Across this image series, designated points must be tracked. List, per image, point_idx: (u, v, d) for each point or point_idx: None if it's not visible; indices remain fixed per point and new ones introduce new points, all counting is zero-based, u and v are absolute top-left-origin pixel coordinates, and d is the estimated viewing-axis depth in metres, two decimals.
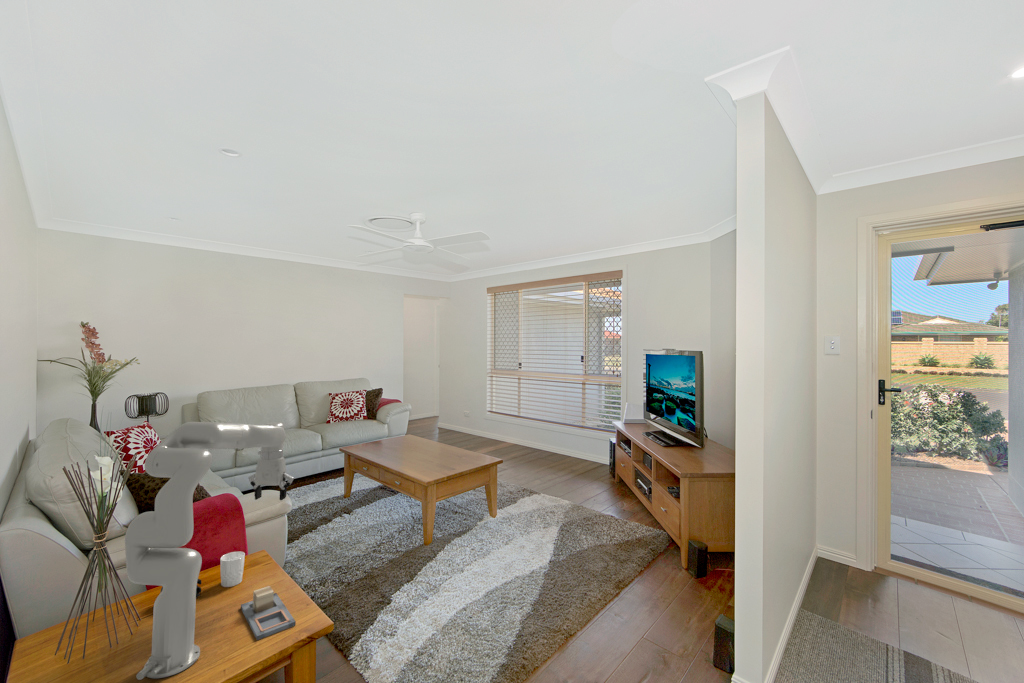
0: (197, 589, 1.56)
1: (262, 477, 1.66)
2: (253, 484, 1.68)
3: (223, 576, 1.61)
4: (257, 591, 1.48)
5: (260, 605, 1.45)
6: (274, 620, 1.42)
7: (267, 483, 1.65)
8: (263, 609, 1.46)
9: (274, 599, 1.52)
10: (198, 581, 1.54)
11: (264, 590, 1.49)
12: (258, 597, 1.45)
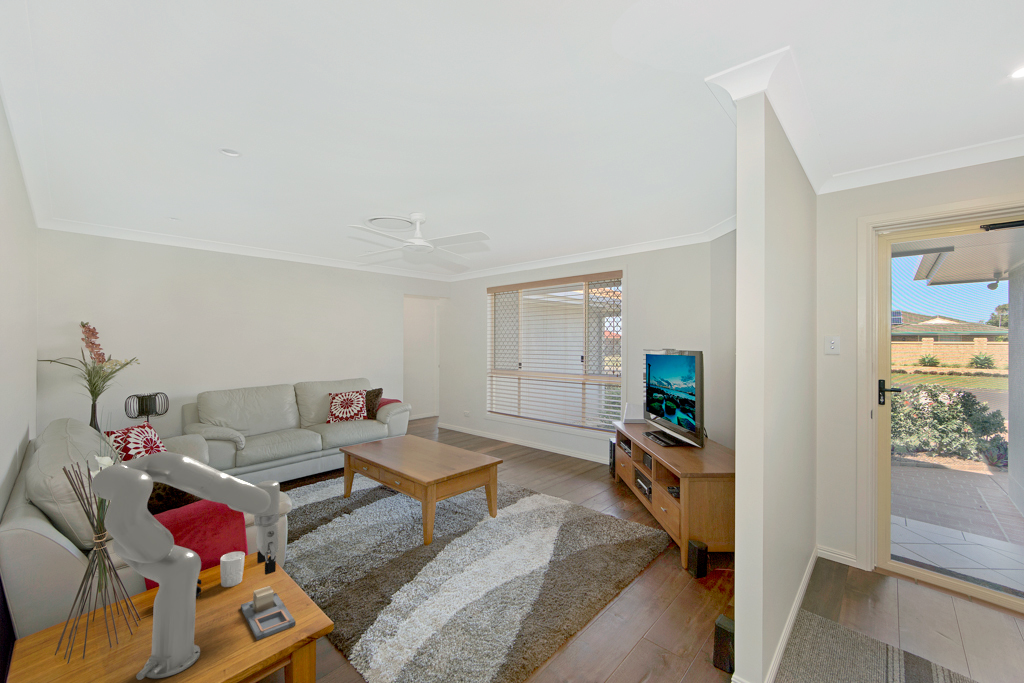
0: (197, 589, 1.56)
1: None
2: None
3: (223, 576, 1.61)
4: (257, 591, 1.48)
5: (260, 605, 1.45)
6: (274, 620, 1.42)
7: None
8: (263, 609, 1.46)
9: (274, 599, 1.52)
10: (198, 581, 1.54)
11: (264, 590, 1.49)
12: (258, 597, 1.45)
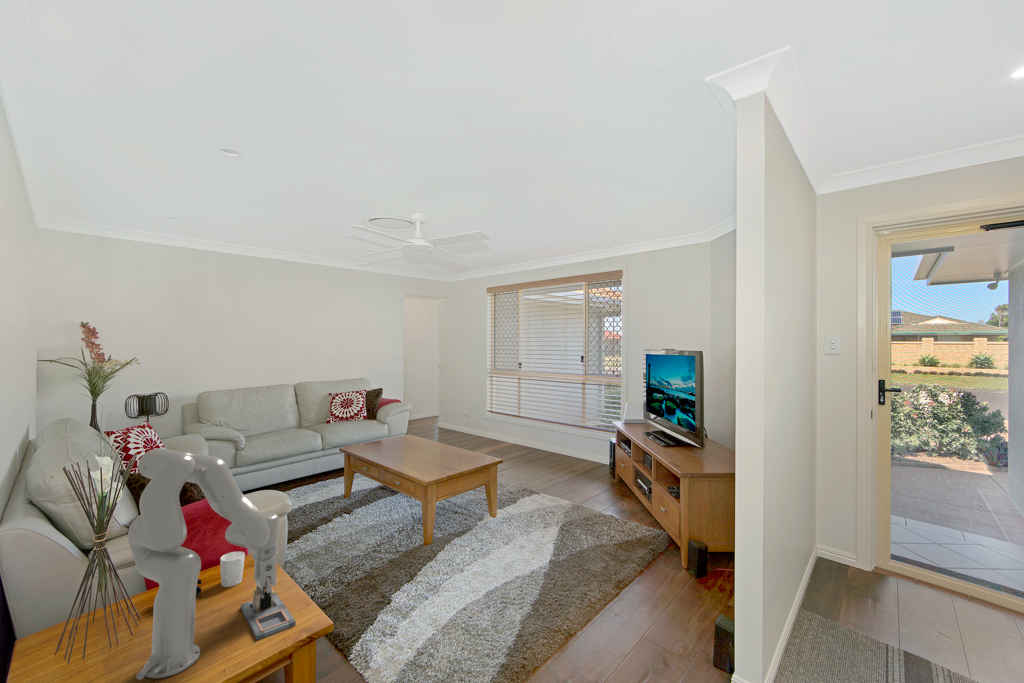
0: (197, 589, 1.56)
1: None
2: None
3: (223, 576, 1.61)
4: (257, 591, 1.48)
5: None
6: (274, 620, 1.42)
7: None
8: None
9: (274, 599, 1.52)
10: (198, 581, 1.54)
11: (264, 590, 1.49)
12: (258, 597, 1.45)
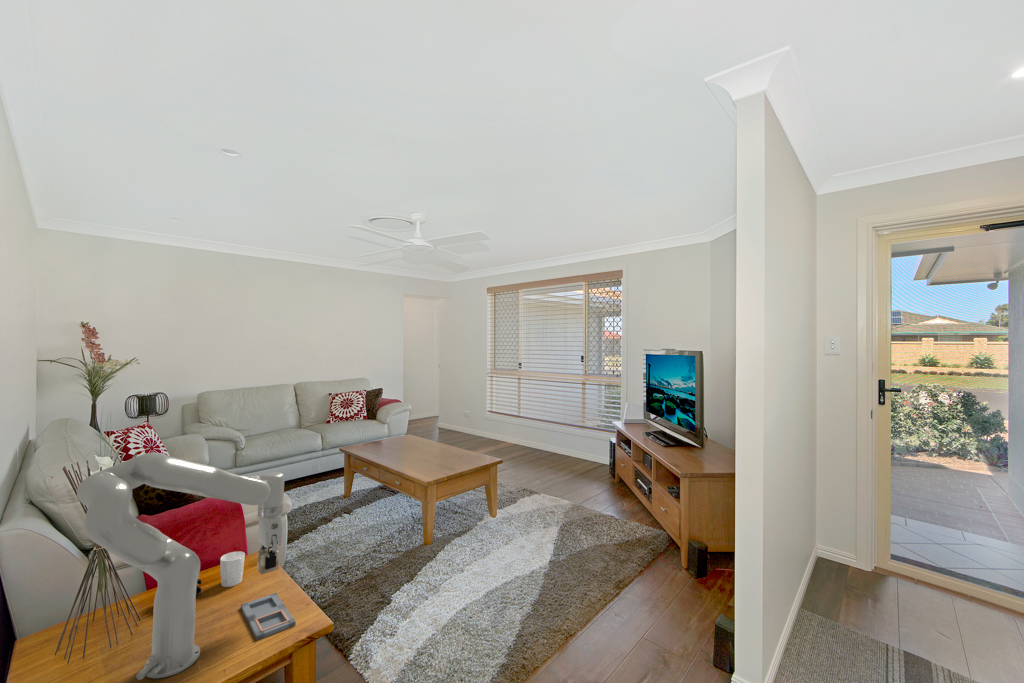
0: (197, 589, 1.56)
1: None
2: None
3: (223, 576, 1.61)
4: (262, 551, 1.45)
5: None
6: (274, 620, 1.42)
7: None
8: (268, 569, 1.43)
9: (274, 599, 1.52)
10: (198, 581, 1.54)
11: (269, 550, 1.46)
12: (263, 556, 1.42)
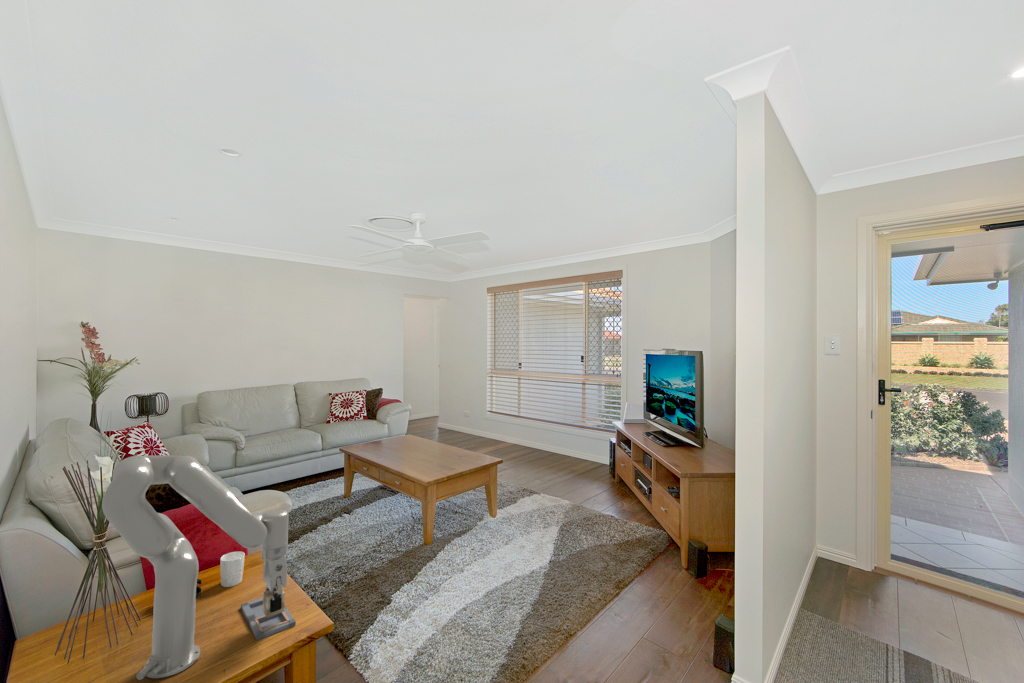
0: (197, 589, 1.56)
1: None
2: None
3: (223, 576, 1.61)
4: (267, 592, 1.40)
5: None
6: (274, 620, 1.42)
7: None
8: None
9: None
10: (198, 581, 1.54)
11: (274, 591, 1.41)
12: (268, 598, 1.37)
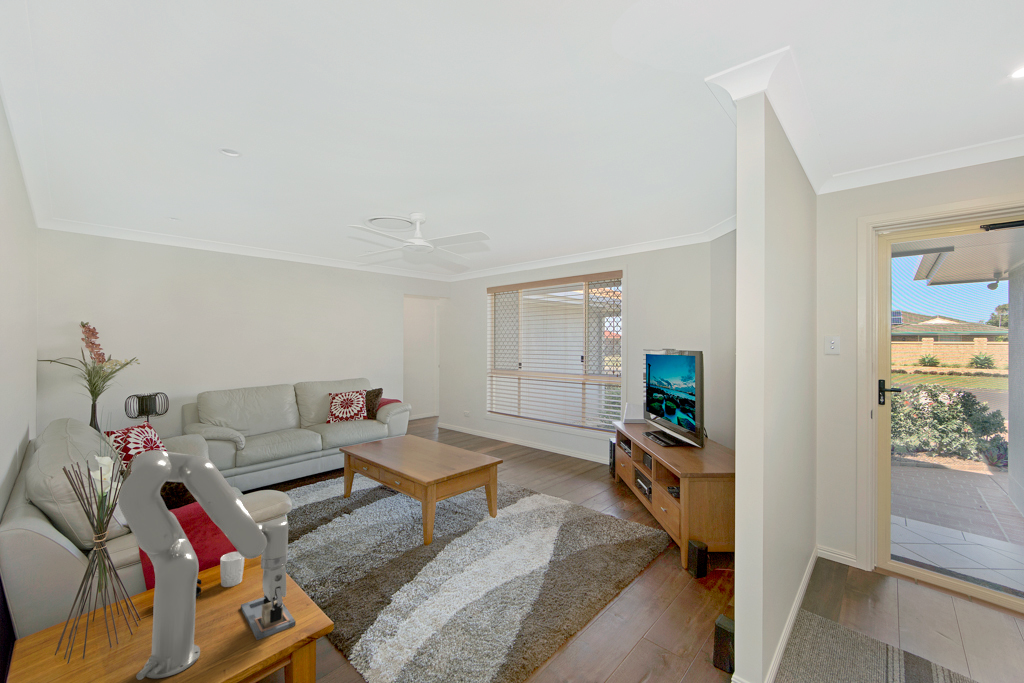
0: (197, 589, 1.56)
1: None
2: None
3: (223, 576, 1.61)
4: (266, 605, 1.40)
5: (269, 620, 1.37)
6: None
7: None
8: (272, 624, 1.38)
9: None
10: (198, 581, 1.54)
11: None
12: (267, 612, 1.37)
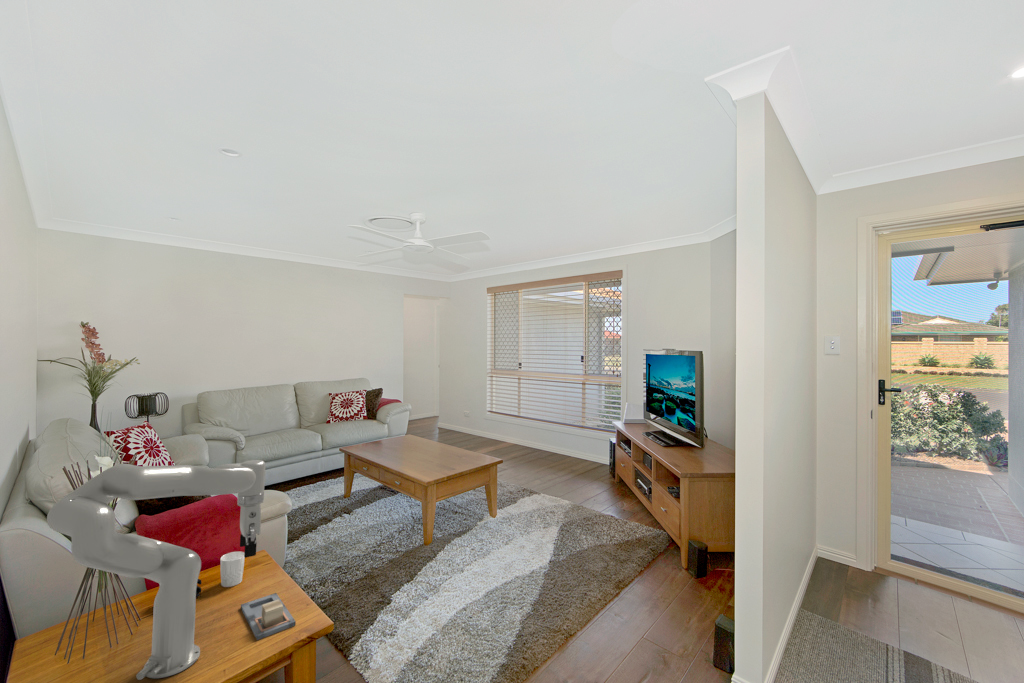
0: (197, 589, 1.56)
1: None
2: None
3: (223, 576, 1.61)
4: (266, 605, 1.40)
5: (269, 620, 1.37)
6: None
7: None
8: (272, 624, 1.38)
9: (274, 599, 1.52)
10: (198, 581, 1.54)
11: (273, 604, 1.41)
12: (267, 612, 1.37)
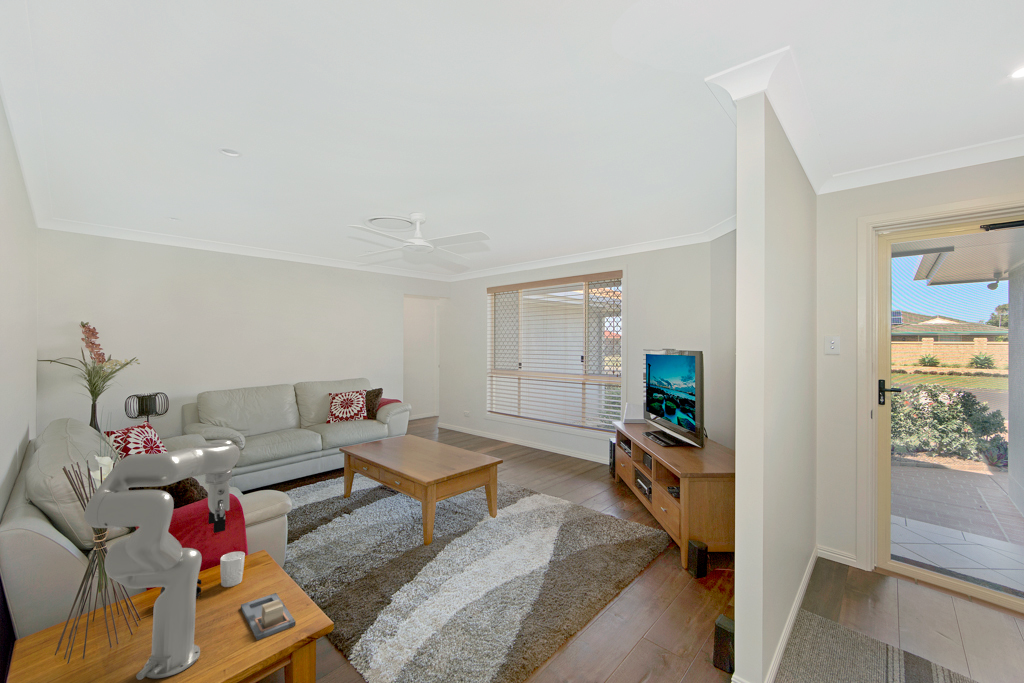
0: (197, 589, 1.56)
1: None
2: None
3: (223, 576, 1.61)
4: (266, 605, 1.40)
5: (269, 620, 1.37)
6: None
7: None
8: (272, 624, 1.38)
9: (274, 599, 1.52)
10: (198, 581, 1.54)
11: (273, 604, 1.41)
12: (267, 612, 1.37)
